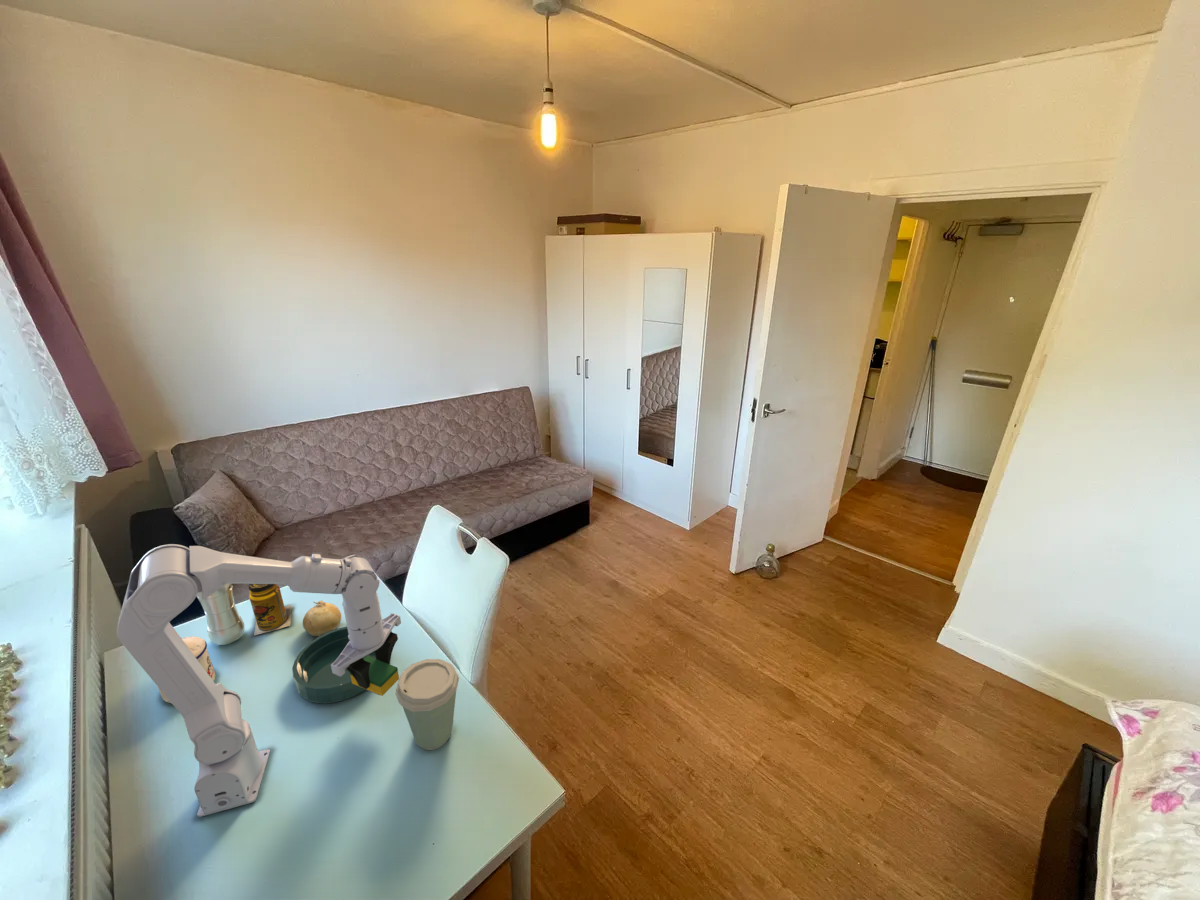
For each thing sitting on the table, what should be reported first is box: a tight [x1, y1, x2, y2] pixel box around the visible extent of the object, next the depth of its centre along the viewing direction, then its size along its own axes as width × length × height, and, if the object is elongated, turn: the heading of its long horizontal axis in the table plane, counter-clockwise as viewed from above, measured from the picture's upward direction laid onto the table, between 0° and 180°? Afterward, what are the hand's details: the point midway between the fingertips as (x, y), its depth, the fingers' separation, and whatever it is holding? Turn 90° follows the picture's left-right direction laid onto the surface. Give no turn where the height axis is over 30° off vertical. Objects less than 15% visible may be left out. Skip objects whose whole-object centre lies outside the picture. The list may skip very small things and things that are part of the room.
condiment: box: [247, 584, 293, 636], centre depth 116 cm, size 7×8×12 cm
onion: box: [302, 600, 342, 638], centre depth 115 cm, size 8×8×7 cm
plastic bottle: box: [196, 584, 245, 646], centre depth 109 cm, size 6×7×20 cm
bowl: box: [291, 626, 376, 704], centre depth 104 cm, size 18×18×4 cm
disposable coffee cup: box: [395, 658, 460, 751], centre depth 89 cm, size 11×11×15 cm
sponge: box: [350, 656, 400, 697], centre depth 93 cm, size 8×4×3 cm, turn 68°
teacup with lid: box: [157, 635, 216, 704], centre depth 99 cm, size 12×9×12 cm
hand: (374, 676), depth 94 cm, fingers closed on sponge, 4 cm apart
